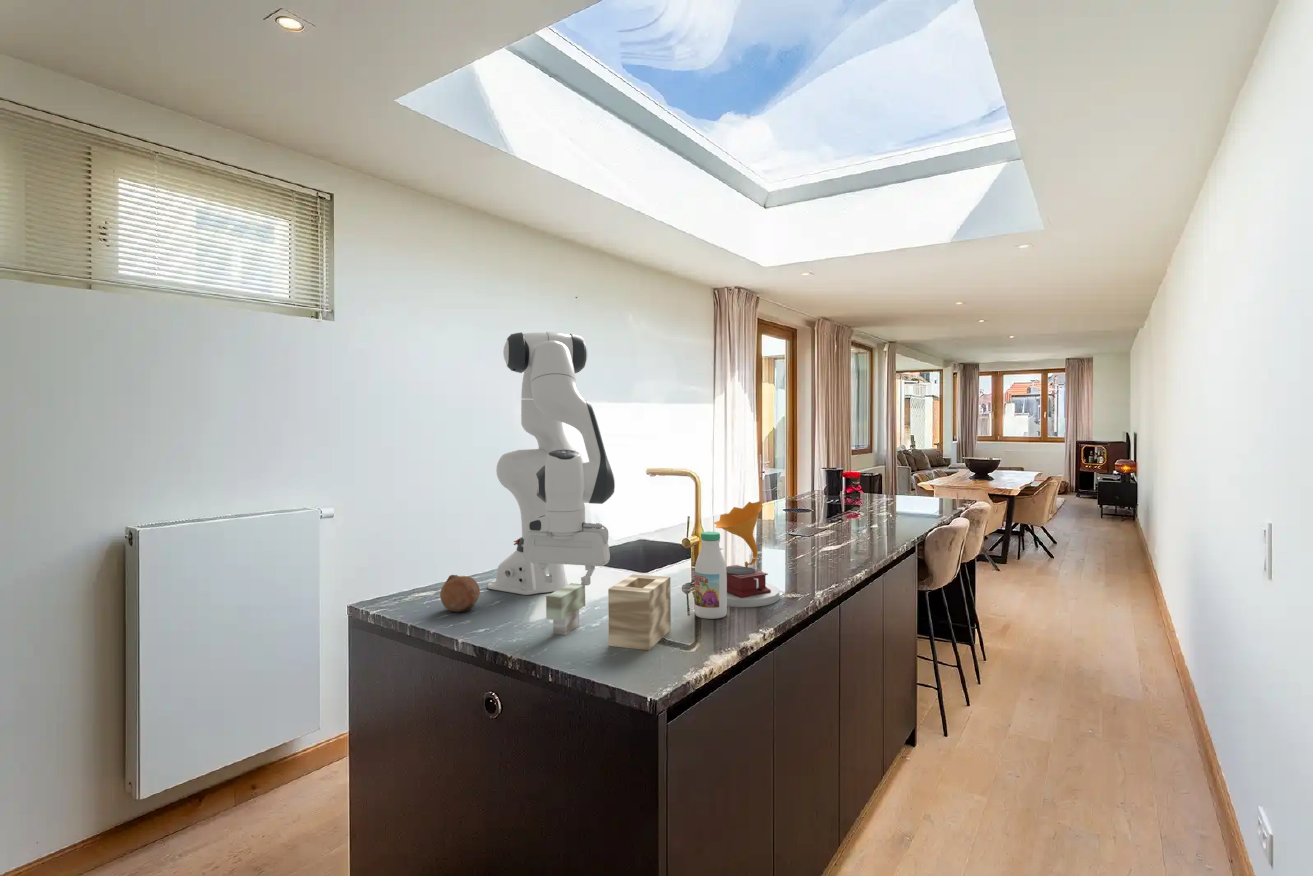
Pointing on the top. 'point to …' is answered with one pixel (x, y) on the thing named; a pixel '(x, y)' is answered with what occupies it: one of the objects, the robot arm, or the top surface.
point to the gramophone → (744, 581)
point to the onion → (459, 593)
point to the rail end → (565, 607)
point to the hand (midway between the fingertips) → (566, 583)
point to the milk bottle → (710, 579)
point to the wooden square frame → (639, 611)
